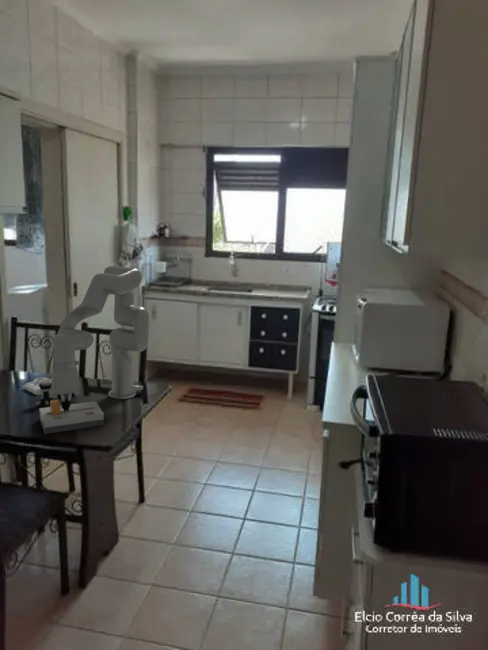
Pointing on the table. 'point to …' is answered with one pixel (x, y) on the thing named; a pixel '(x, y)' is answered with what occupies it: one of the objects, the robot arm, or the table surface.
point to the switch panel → (72, 417)
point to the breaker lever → (55, 407)
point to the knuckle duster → (36, 385)
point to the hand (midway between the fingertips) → (65, 409)
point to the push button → (45, 393)
